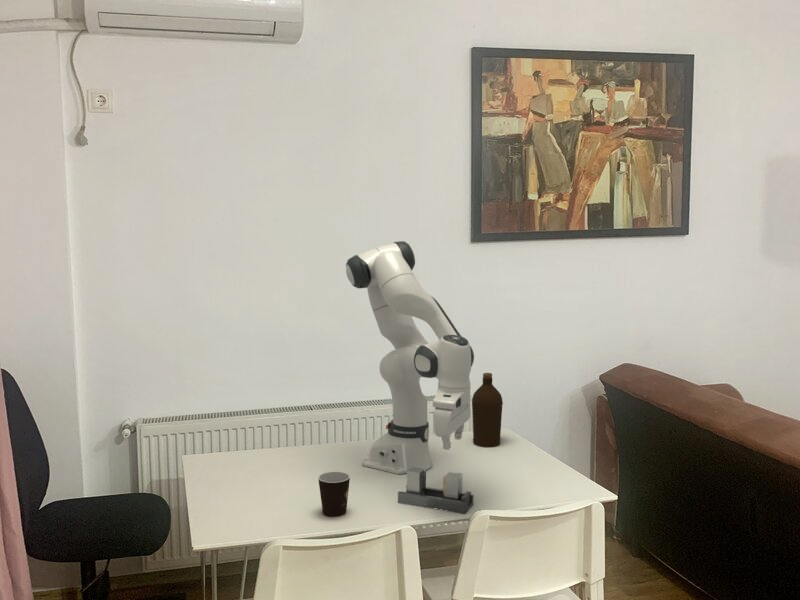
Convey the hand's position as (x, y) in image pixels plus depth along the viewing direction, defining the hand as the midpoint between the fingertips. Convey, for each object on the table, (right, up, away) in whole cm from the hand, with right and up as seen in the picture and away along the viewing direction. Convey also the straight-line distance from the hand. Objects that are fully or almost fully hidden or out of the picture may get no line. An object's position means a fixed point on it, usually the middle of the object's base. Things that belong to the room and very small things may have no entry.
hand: (452, 443), depth 212 cm
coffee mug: (-32, -18, -1) cm, 37 cm away
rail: (-5, -18, +4) cm, 19 cm away
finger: (0, -17, +2) cm, 17 cm away
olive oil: (+16, -11, +59) cm, 62 cm away
